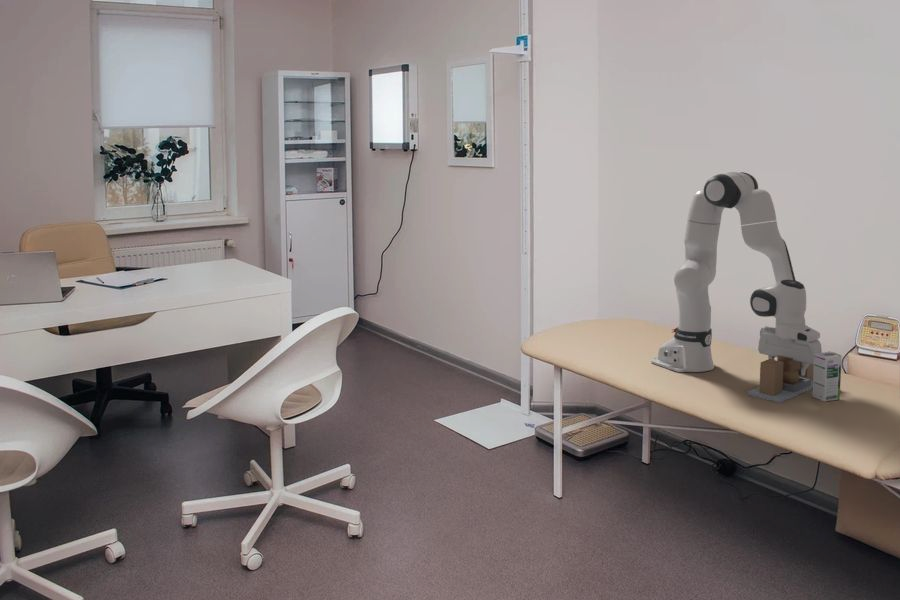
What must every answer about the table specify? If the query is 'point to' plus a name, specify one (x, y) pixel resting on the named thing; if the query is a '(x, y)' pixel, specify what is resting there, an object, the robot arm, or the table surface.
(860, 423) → the table surface
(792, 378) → the block
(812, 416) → the table surface
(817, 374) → the syrup box
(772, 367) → the grey base with blocks
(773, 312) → the robot arm
